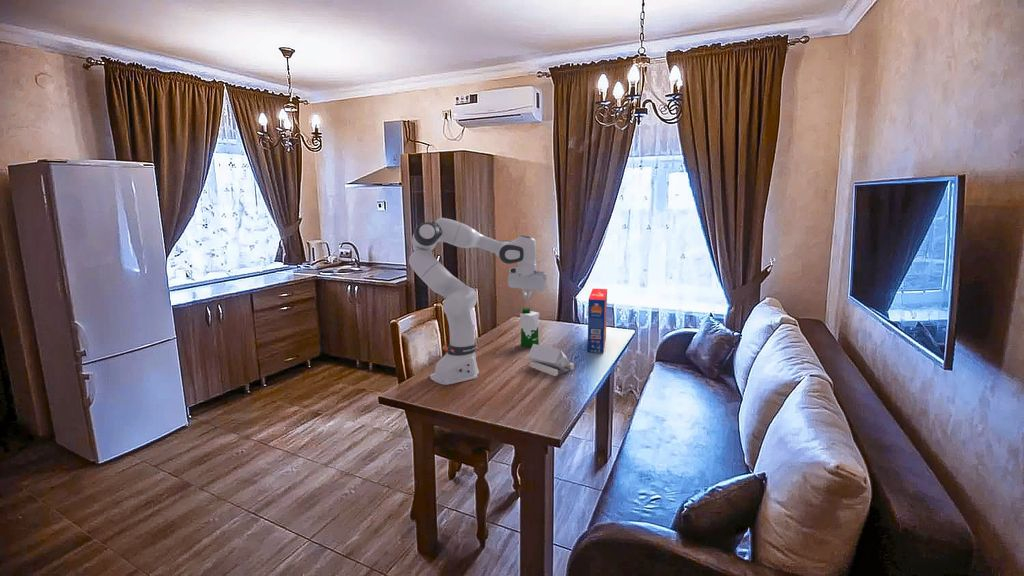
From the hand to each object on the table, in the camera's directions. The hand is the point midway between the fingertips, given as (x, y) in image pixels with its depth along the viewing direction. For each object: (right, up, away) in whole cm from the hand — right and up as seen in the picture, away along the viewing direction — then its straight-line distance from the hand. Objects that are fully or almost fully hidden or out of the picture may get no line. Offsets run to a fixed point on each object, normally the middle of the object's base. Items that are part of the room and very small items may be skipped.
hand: (527, 298), depth 231 cm
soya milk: (+2, -26, +27) cm, 38 cm away
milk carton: (+3, -26, -2) cm, 27 cm away
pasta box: (+39, -26, +27) cm, 54 cm away
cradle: (+11, -33, -6) cm, 35 cm away
